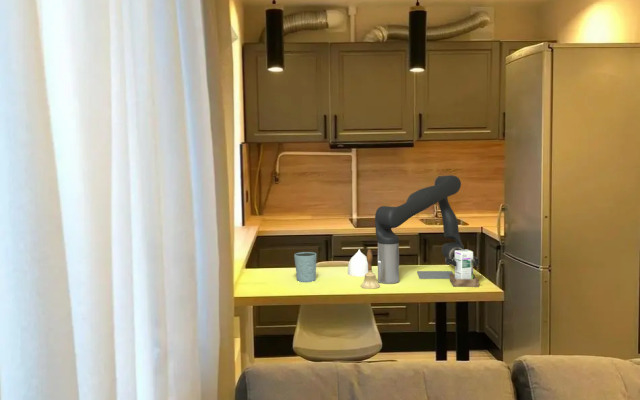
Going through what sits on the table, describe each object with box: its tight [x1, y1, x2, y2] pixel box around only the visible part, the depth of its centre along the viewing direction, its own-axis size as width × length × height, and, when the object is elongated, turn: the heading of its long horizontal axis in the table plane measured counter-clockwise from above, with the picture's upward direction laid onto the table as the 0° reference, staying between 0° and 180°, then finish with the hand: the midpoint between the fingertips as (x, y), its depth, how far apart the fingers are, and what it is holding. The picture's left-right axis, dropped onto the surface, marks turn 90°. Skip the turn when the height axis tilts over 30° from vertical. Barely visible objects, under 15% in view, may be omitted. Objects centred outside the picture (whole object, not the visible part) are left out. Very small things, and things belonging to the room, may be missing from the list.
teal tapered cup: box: [293, 251, 318, 283], centre depth 249 cm, size 10×10×12 cm
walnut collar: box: [449, 273, 480, 288], centre depth 238 cm, size 10×10×3 cm
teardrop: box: [347, 248, 368, 277], centre depth 260 cm, size 11×11×12 cm
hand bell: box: [360, 249, 381, 290], centre depth 236 cm, size 8×8×16 cm
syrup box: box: [454, 249, 474, 279], centre depth 237 cm, size 6×6×14 cm
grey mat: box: [416, 270, 454, 280], centre depth 253 cm, size 16×12×1 cm
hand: (464, 264), depth 235 cm, fingers closed on syrup box, 7 cm apart
